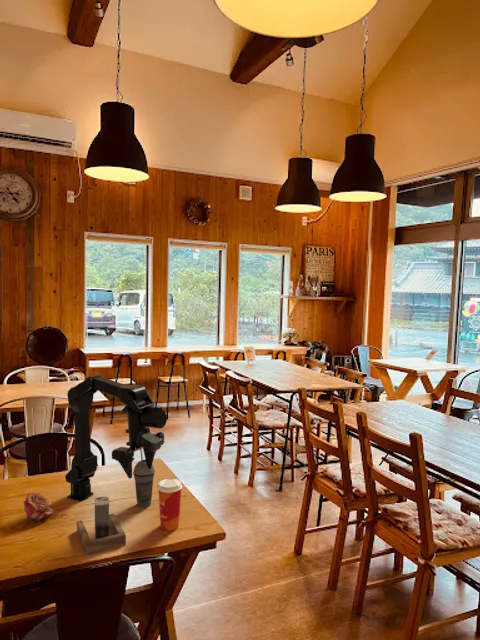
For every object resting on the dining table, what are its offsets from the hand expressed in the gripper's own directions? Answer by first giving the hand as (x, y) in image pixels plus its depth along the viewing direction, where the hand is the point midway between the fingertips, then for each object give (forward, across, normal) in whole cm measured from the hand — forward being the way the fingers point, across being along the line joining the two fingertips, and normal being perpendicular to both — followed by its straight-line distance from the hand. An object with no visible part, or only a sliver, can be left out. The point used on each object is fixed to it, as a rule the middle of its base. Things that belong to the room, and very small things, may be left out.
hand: (140, 473), depth 154 cm
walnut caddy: (+14, -16, +3) cm, 21 cm away
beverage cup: (+14, +7, +5) cm, 16 cm away
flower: (+12, -18, +28) cm, 35 cm away
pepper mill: (+14, -17, +1) cm, 22 cm away
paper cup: (+15, 0, -11) cm, 19 cm away
